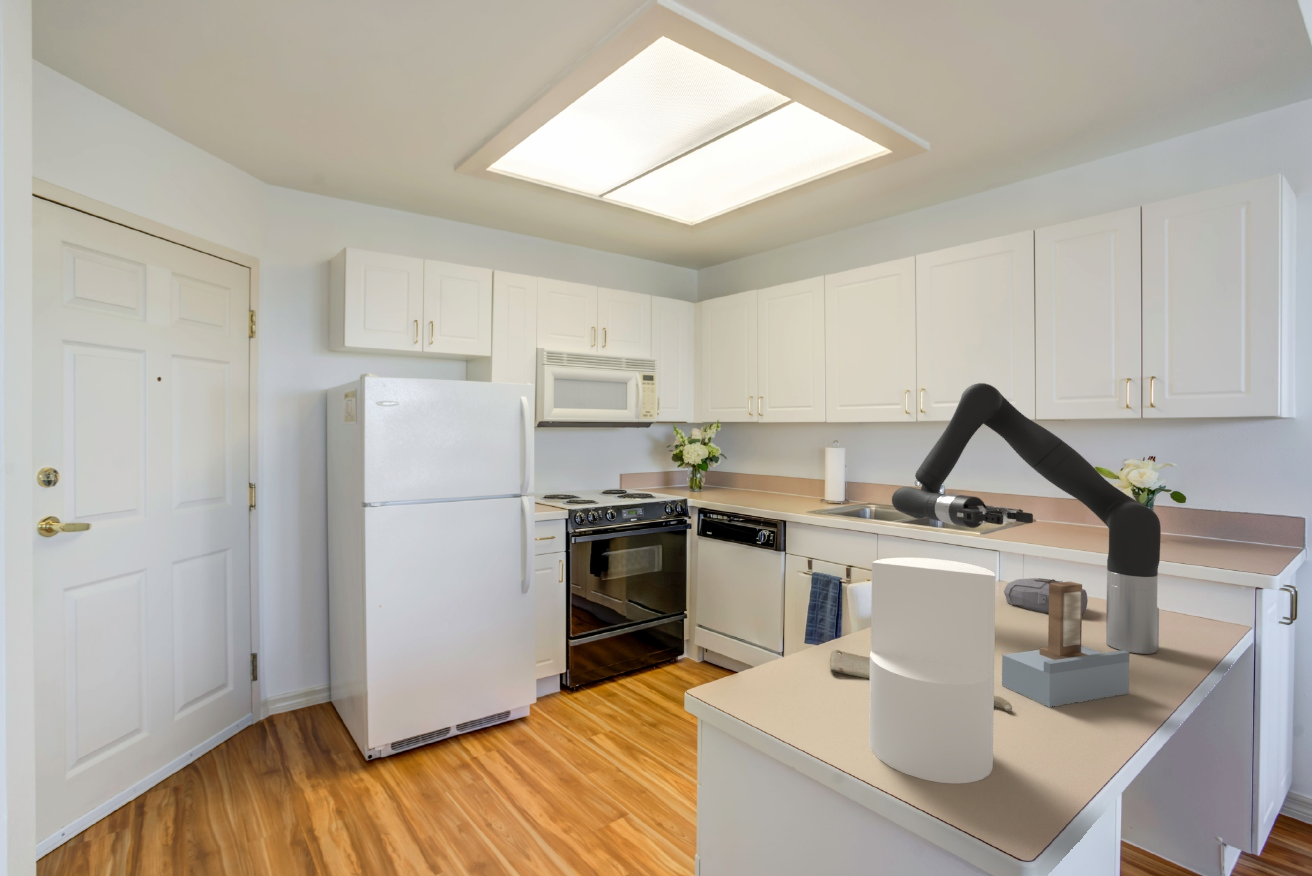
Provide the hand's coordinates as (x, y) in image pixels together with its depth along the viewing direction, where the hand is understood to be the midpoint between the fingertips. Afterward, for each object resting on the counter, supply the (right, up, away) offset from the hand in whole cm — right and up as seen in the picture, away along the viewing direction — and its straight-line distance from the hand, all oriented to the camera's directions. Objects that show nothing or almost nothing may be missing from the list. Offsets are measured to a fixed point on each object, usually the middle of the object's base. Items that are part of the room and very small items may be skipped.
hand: (1017, 519), depth 137 cm
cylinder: (-38, -30, -42) cm, 64 cm away
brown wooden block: (-1, -24, -18) cm, 30 cm away
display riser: (-2, -30, -18) cm, 35 cm away
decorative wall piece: (-29, -31, -11) cm, 44 cm away
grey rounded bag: (+30, -30, +39) cm, 57 cm away
